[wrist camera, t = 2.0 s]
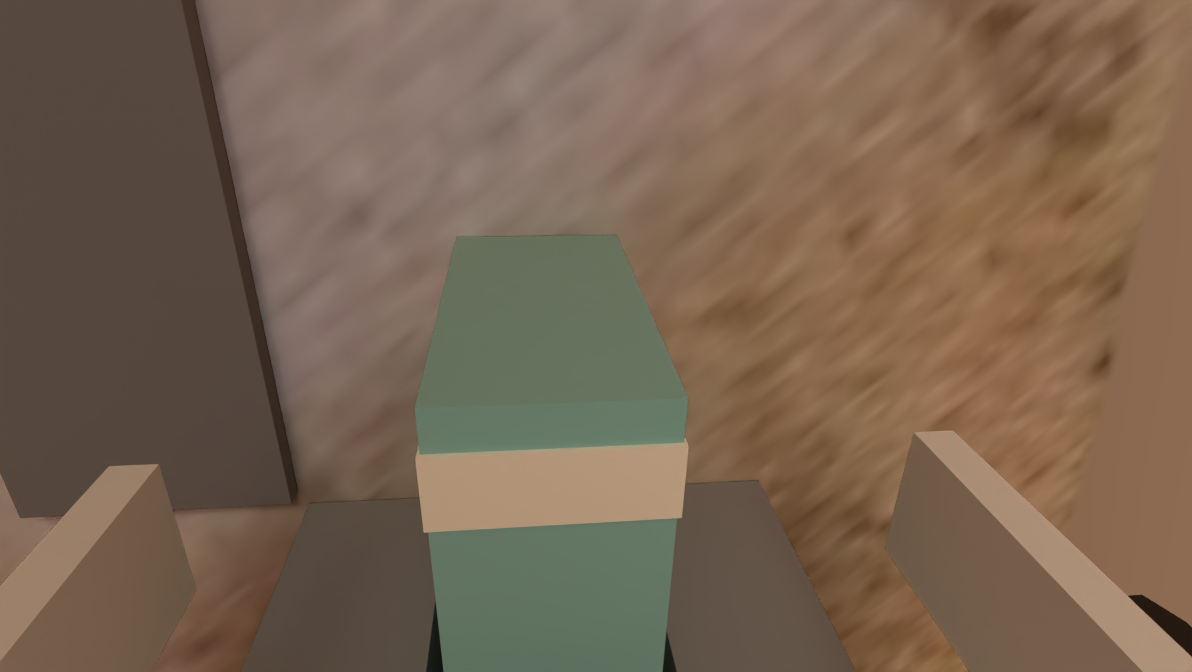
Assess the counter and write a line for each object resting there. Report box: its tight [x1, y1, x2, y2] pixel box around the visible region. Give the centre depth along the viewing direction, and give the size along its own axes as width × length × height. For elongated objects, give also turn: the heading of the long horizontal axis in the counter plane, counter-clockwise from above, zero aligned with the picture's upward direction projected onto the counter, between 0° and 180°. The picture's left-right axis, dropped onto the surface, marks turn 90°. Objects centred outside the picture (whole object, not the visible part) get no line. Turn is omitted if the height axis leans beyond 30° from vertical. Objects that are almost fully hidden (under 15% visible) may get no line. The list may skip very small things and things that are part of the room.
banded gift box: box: [414, 235, 689, 672], centre depth 16 cm, size 12×4×8 cm, turn 179°
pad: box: [0, 0, 297, 518], centre depth 16 cm, size 13×7×1 cm, turn 179°
